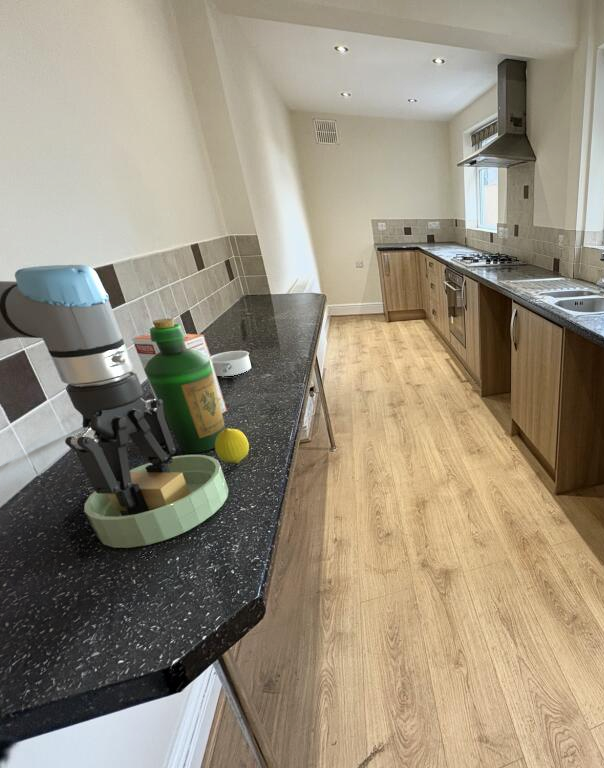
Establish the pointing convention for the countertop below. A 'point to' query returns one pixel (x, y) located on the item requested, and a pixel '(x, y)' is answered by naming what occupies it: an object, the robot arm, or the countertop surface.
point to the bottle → (184, 389)
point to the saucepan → (231, 363)
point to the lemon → (231, 445)
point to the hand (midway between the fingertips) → (155, 508)
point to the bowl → (166, 520)
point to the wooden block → (155, 489)
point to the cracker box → (191, 341)
